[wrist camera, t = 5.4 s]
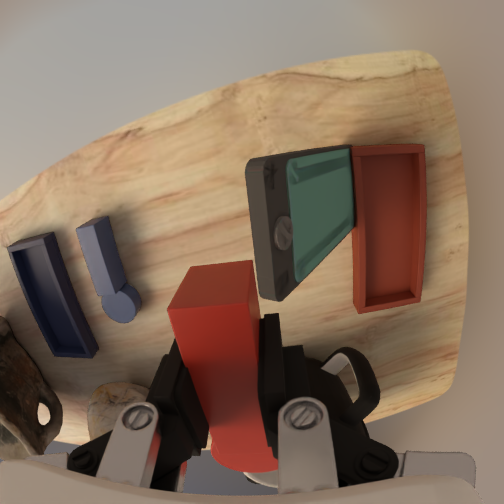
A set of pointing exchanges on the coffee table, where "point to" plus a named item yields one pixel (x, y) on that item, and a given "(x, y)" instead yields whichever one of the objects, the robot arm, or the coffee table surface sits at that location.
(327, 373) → the mug
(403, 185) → the red tray
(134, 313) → the blue spoon
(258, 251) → the smartphone
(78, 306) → the blue tray
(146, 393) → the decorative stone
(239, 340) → the red spoon
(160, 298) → the coffee table surface
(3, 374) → the bowl
